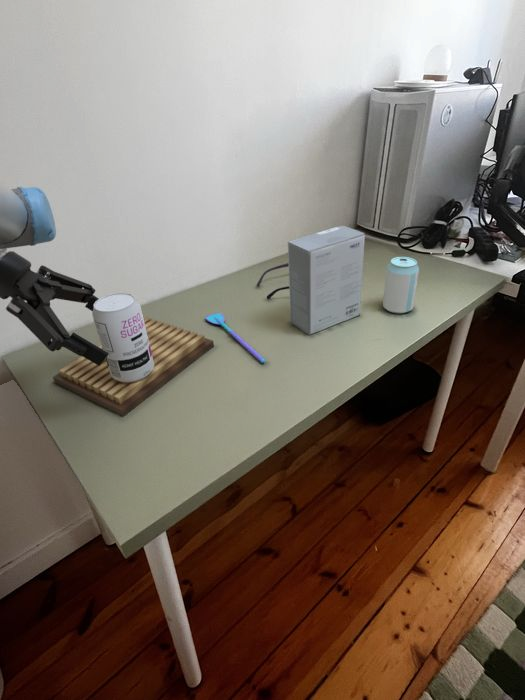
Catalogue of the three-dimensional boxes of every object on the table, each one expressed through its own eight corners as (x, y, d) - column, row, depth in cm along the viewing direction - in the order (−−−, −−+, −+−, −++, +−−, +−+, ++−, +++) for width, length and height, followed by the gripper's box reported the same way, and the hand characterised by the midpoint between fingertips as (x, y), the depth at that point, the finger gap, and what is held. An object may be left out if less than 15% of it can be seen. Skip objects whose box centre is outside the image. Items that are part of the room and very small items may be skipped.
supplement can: (121, 358, 87) (102, 291, 79) (160, 360, 86) (145, 291, 78) (104, 383, 80) (81, 312, 72) (146, 385, 79) (128, 313, 71)
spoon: (202, 318, 105) (201, 314, 104) (217, 313, 107) (216, 308, 106) (260, 365, 88) (260, 360, 87) (276, 358, 89) (276, 353, 89)
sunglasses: (326, 292, 114) (327, 274, 111) (270, 304, 110) (270, 286, 107) (305, 273, 125) (306, 256, 122) (254, 283, 121) (252, 266, 118)
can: (376, 305, 106) (381, 259, 100) (399, 298, 109) (405, 253, 102) (395, 317, 101) (401, 269, 94) (419, 310, 103) (427, 263, 97)
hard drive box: (339, 303, 108) (343, 224, 97) (360, 315, 103) (368, 233, 92) (288, 322, 102) (287, 240, 90) (308, 336, 96) (309, 250, 85)
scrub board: (123, 416, 77) (119, 403, 75) (54, 382, 86) (50, 370, 85) (214, 346, 95) (212, 334, 93) (148, 324, 104) (146, 313, 103)
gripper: (15, 256, 81) (114, 318, 90) (-55, 321, 61) (83, 394, 70) (34, 226, 79) (134, 293, 88) (-32, 283, 58) (108, 364, 67)
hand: (112, 338), depth 79 cm, fingers open, 13 cm apart
